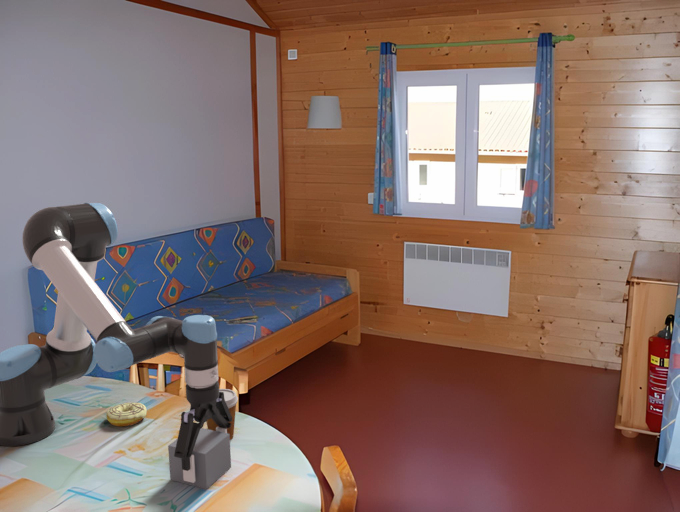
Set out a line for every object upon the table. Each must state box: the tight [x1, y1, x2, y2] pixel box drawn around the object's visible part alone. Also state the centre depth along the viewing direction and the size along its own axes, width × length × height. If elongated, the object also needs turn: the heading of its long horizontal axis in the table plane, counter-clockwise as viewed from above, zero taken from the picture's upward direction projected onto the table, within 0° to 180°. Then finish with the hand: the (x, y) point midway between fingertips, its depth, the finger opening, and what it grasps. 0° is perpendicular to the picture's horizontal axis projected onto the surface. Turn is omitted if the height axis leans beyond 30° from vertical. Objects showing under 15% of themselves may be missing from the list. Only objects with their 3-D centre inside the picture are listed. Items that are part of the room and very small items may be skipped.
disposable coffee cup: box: [205, 388, 239, 441], centre depth 165 cm, size 10×10×12 cm
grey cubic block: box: [167, 427, 232, 490], centre depth 148 cm, size 10×10×9 cm
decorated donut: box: [105, 401, 148, 428], centre depth 177 cm, size 10×11×4 cm
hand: (206, 466), depth 148 cm, fingers open, 13 cm apart
